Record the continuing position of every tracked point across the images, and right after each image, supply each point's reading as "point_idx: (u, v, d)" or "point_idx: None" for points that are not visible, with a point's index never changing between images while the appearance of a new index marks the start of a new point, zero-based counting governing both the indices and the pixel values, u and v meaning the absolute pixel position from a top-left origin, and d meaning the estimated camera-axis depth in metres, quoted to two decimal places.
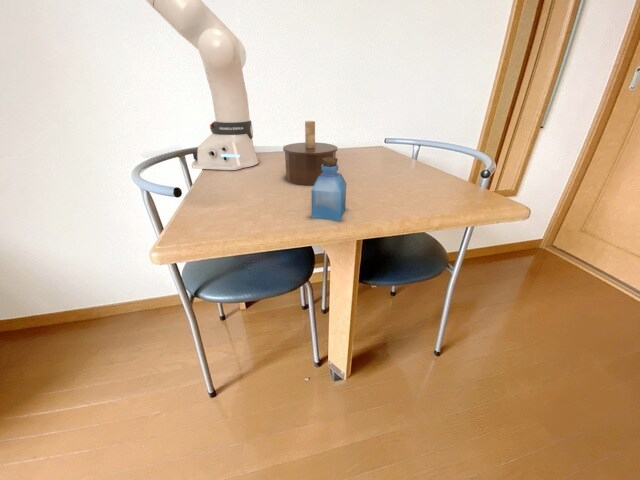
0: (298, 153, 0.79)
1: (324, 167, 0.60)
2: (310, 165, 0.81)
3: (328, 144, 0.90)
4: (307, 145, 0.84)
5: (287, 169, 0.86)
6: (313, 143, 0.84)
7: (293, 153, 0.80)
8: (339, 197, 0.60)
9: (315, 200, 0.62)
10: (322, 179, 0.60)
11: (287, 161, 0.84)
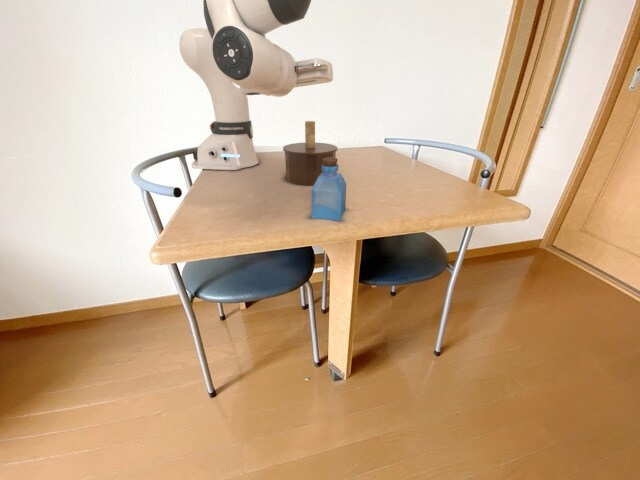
0: (298, 153, 0.79)
1: (324, 167, 0.60)
2: (310, 165, 0.81)
3: (328, 144, 0.90)
4: (307, 145, 0.84)
5: (287, 169, 0.86)
6: (313, 143, 0.84)
7: (293, 153, 0.80)
8: (339, 197, 0.60)
9: (315, 200, 0.62)
10: (322, 179, 0.60)
11: (287, 161, 0.84)
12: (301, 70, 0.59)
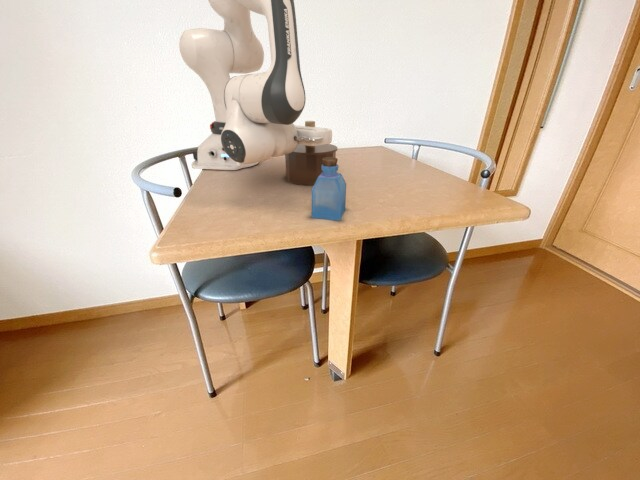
0: (298, 153, 0.79)
1: (324, 167, 0.60)
2: (310, 165, 0.81)
3: (328, 144, 0.90)
4: None
5: (287, 169, 0.86)
6: None
7: (293, 153, 0.80)
8: (339, 197, 0.60)
9: (315, 200, 0.62)
10: (322, 179, 0.60)
11: (287, 161, 0.84)
12: (299, 140, 0.72)
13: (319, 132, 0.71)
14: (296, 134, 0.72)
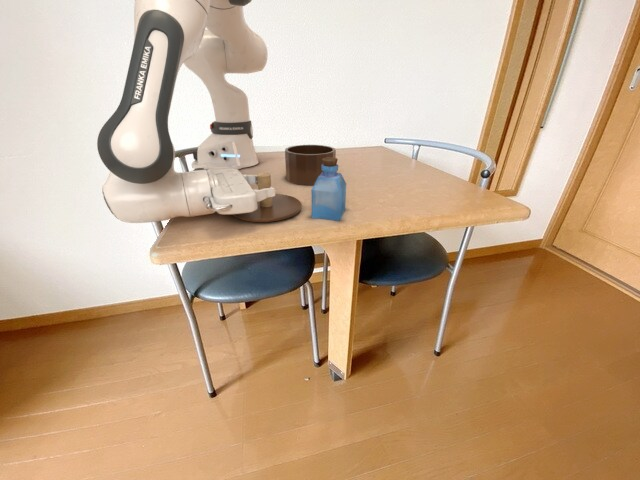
0: (232, 214, 0.63)
1: (324, 167, 0.60)
2: (310, 165, 0.81)
3: (297, 203, 0.68)
4: (259, 203, 0.66)
5: (287, 169, 0.86)
6: (266, 202, 0.65)
7: None
8: (339, 197, 0.60)
9: (315, 200, 0.62)
10: (322, 179, 0.60)
11: (287, 161, 0.84)
12: None
13: (225, 198, 0.53)
14: (208, 194, 0.57)
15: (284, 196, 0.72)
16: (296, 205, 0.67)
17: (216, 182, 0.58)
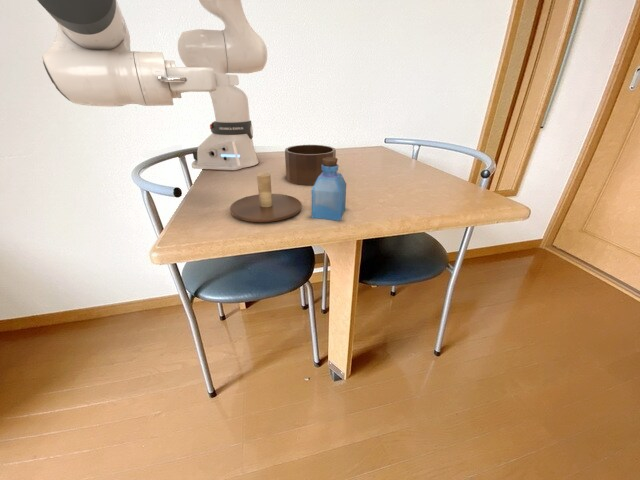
0: (232, 214, 0.63)
1: (324, 167, 0.60)
2: (310, 165, 0.81)
3: (297, 203, 0.68)
4: (259, 203, 0.66)
5: (287, 169, 0.86)
6: (266, 202, 0.65)
7: None
8: (339, 197, 0.60)
9: (315, 200, 0.62)
10: (322, 179, 0.60)
11: (287, 161, 0.84)
12: None
13: (177, 69, 0.48)
14: (163, 74, 0.52)
15: (284, 196, 0.72)
16: (296, 205, 0.67)
17: (173, 64, 0.54)
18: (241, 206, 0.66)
